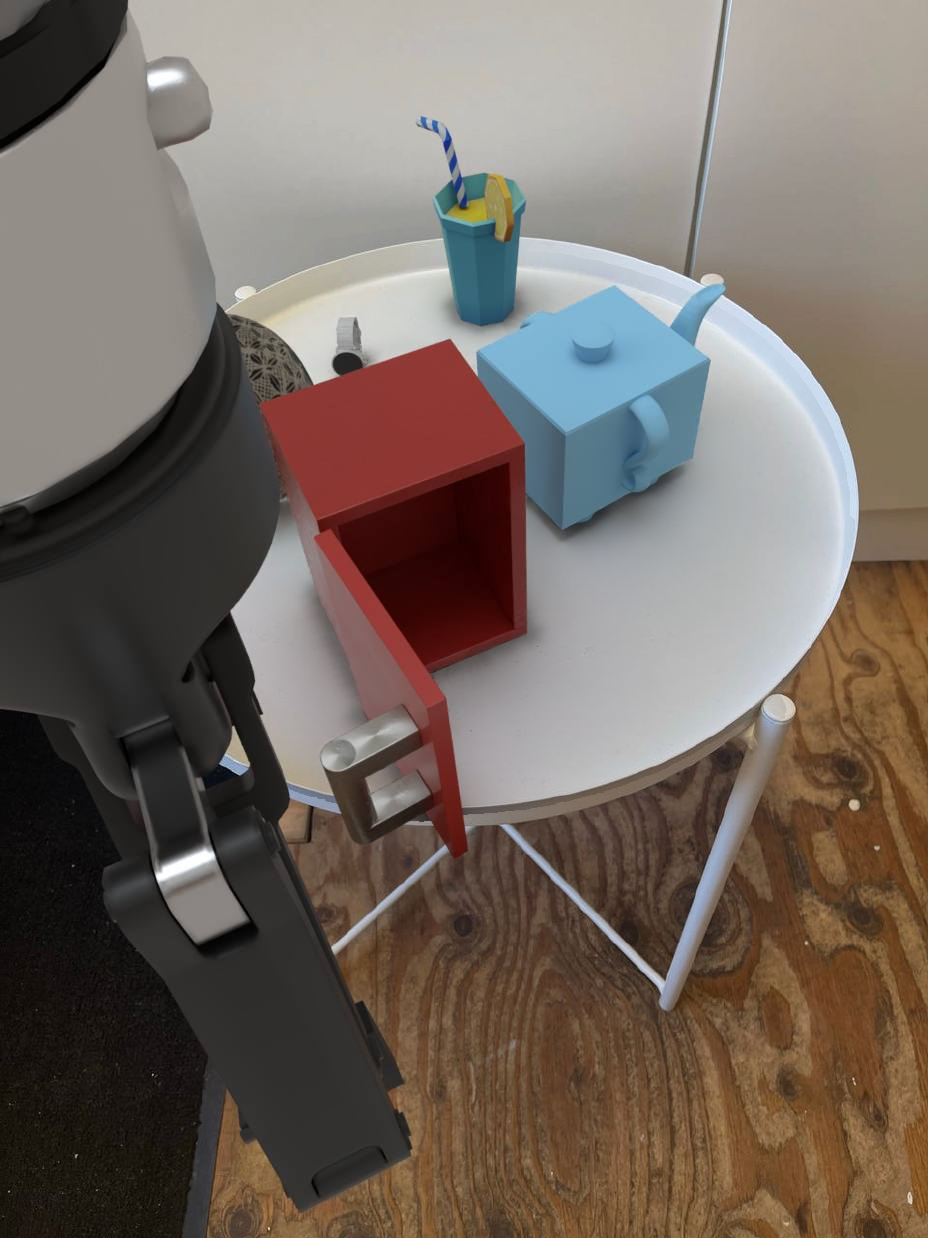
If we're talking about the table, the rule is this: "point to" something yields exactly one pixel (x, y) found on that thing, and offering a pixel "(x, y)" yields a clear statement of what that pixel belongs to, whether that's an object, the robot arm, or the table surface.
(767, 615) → the table surface
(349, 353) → the wristwatch
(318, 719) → the table surface
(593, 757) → the table surface
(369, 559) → the red cabinet body
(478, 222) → the cup
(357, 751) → the cabinet door
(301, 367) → the decorative egg
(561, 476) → the teapot
